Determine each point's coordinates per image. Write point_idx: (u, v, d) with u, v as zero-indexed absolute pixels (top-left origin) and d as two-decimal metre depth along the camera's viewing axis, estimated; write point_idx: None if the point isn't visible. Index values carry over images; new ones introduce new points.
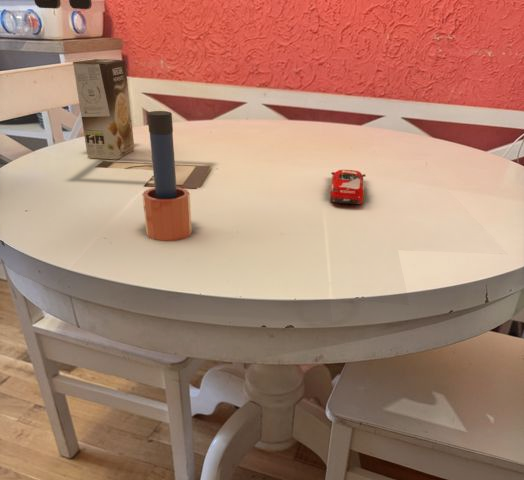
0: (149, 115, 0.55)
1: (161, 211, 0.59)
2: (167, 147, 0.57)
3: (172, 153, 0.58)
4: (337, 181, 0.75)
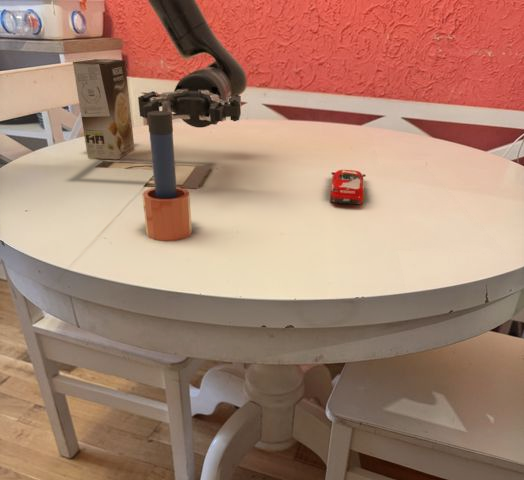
0: (149, 115, 0.55)
1: (161, 211, 0.59)
2: (167, 147, 0.57)
3: (172, 153, 0.58)
4: (337, 181, 0.75)
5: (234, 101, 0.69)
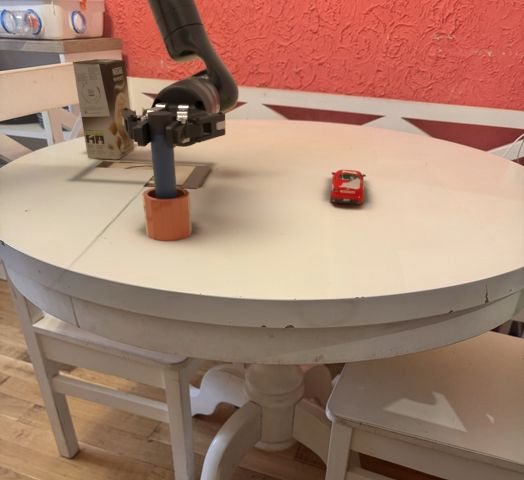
0: (149, 115, 0.55)
1: (161, 211, 0.59)
2: (167, 147, 0.57)
3: (172, 153, 0.58)
4: (337, 181, 0.75)
5: (195, 119, 0.58)
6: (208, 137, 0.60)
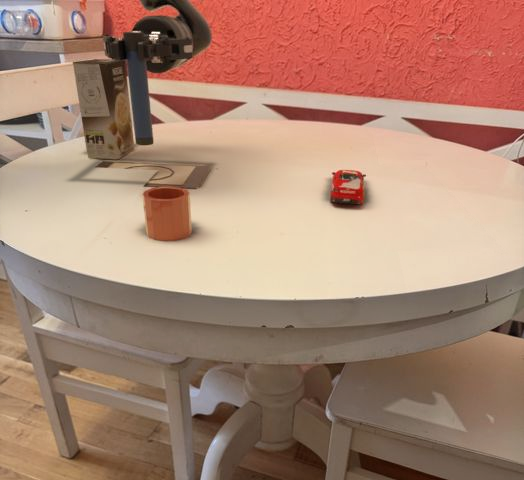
0: (124, 33, 0.66)
1: (161, 211, 0.59)
2: (140, 63, 0.67)
3: (145, 69, 0.68)
4: (337, 181, 0.75)
5: (164, 39, 0.68)
6: (176, 57, 0.70)
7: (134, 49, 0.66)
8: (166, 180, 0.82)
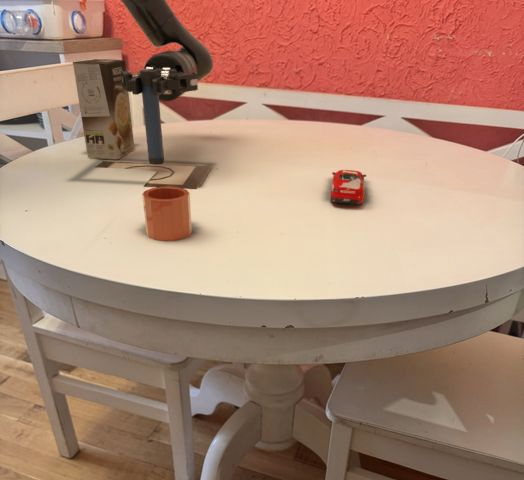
0: (140, 72, 0.78)
1: (161, 211, 0.59)
2: (154, 96, 0.79)
3: (157, 100, 0.80)
4: (337, 181, 0.75)
5: (174, 76, 0.80)
6: (184, 90, 0.82)
7: (149, 85, 0.78)
8: (166, 180, 0.82)
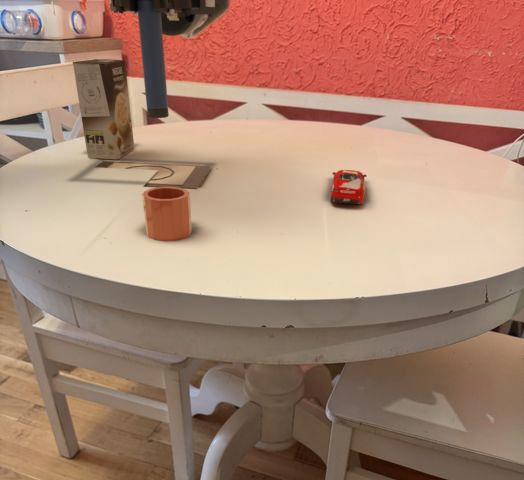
0: None
1: (161, 211, 0.59)
2: (154, 16, 0.56)
3: (160, 23, 0.57)
4: (337, 181, 0.75)
5: None
6: (197, 11, 0.59)
7: None
8: (166, 180, 0.82)
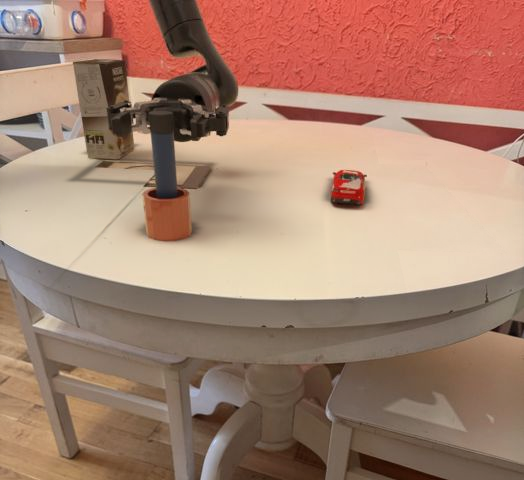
0: (150, 115, 0.55)
1: (161, 211, 0.59)
2: (168, 147, 0.57)
3: (173, 152, 0.58)
4: (338, 181, 0.75)
5: (220, 113, 0.58)
6: (226, 130, 0.61)
7: (162, 132, 0.56)
8: None
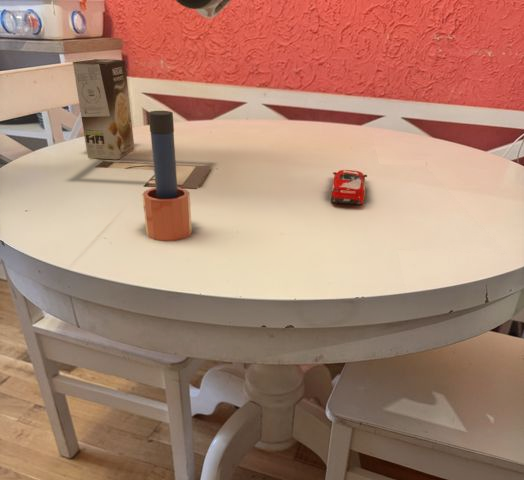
0: (150, 115, 0.55)
1: (161, 211, 0.59)
2: (168, 147, 0.57)
3: (173, 152, 0.58)
4: (338, 181, 0.75)
5: None
6: None
7: (162, 132, 0.56)
8: None
